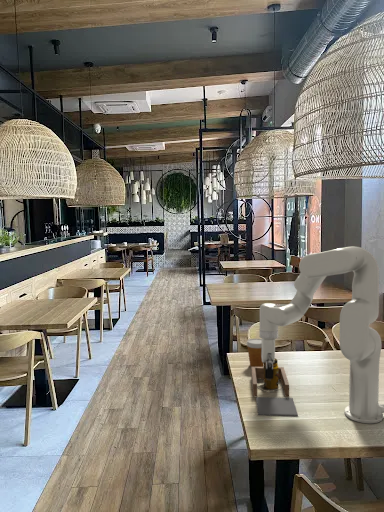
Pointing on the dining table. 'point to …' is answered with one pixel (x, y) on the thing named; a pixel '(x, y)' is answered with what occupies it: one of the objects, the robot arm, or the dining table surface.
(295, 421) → the dining table surface
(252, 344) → the disposable coffee cup
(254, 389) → the frame
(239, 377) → the dining table surface
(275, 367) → the condiment
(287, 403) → the mat
